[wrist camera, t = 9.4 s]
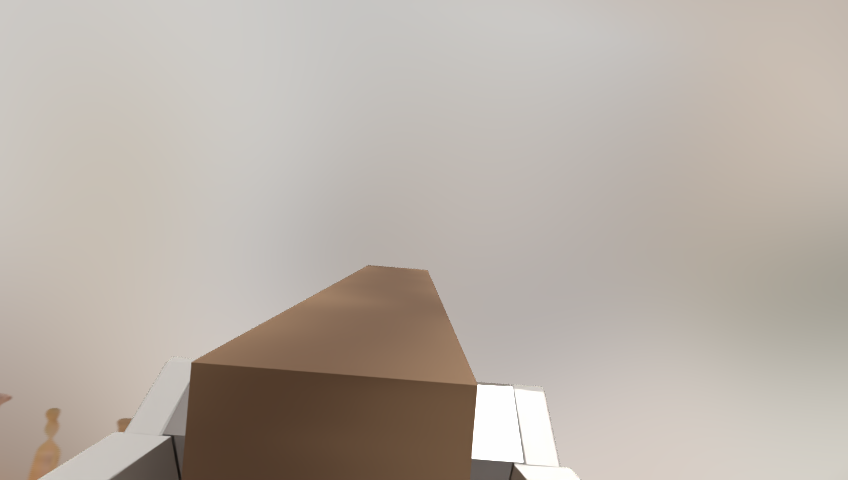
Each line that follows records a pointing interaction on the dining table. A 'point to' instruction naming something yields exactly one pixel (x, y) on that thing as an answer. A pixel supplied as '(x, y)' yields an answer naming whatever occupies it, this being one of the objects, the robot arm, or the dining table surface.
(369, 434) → the walnut bar
